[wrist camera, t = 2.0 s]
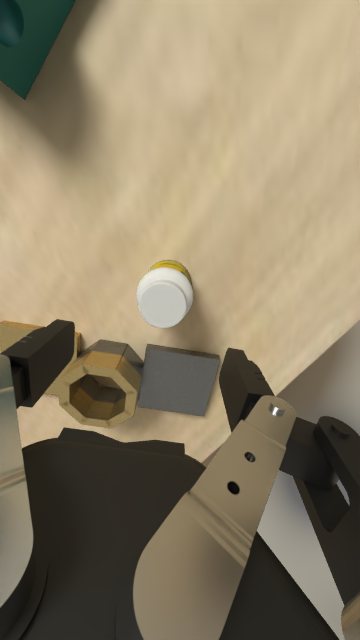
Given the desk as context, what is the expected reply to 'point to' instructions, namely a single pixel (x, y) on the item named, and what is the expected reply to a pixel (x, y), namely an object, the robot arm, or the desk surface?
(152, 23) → the desk surface
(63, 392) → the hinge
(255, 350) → the desk surface
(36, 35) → the bracket
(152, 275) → the supplement bottle
